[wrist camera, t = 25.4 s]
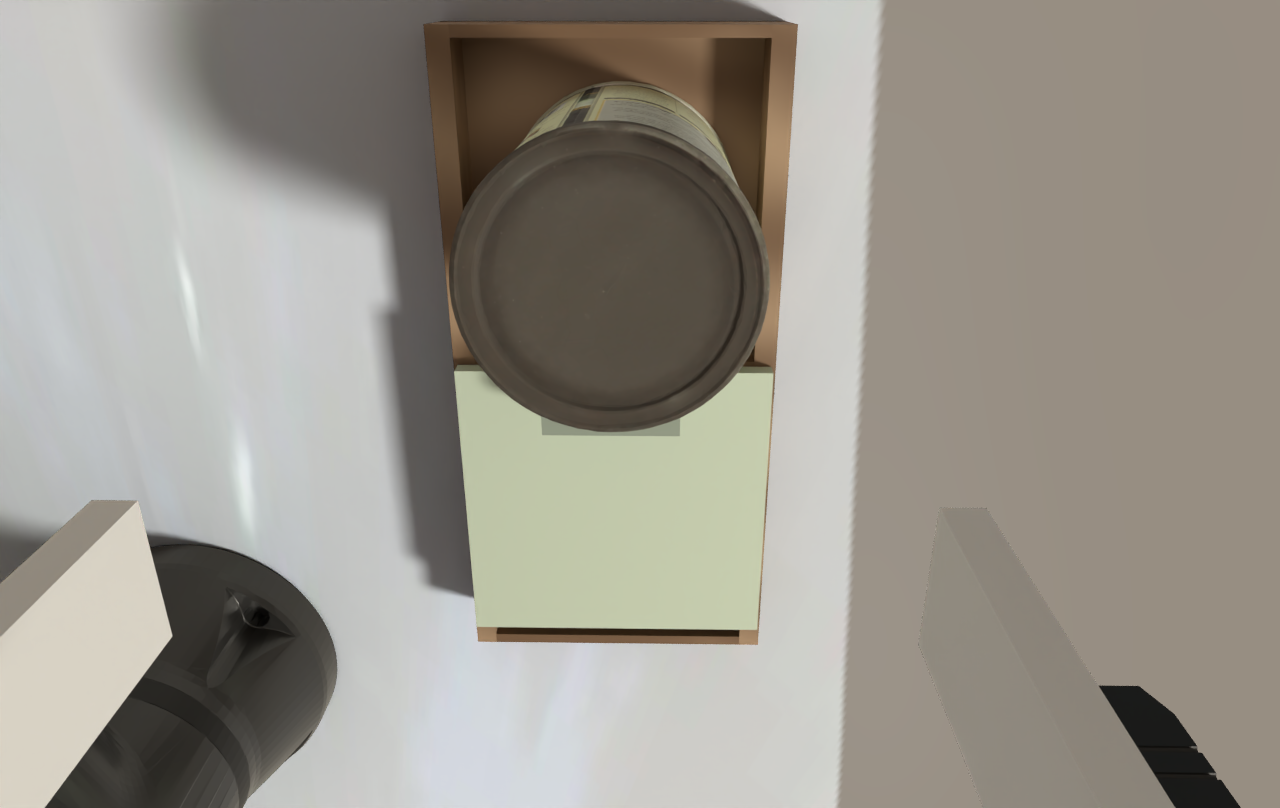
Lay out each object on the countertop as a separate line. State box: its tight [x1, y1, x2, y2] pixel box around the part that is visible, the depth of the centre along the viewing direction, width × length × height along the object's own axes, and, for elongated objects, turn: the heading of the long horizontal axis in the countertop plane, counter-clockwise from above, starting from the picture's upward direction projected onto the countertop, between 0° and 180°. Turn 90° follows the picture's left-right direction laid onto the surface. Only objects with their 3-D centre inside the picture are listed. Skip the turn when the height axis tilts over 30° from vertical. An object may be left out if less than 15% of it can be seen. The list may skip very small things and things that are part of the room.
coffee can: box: [449, 81, 770, 432], centre depth 36 cm, size 10×10×14 cm
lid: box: [454, 365, 774, 630], centre depth 44 cm, size 14×15×4 cm
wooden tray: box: [424, 21, 798, 645], centre depth 45 cm, size 31×15×4 cm, turn 0°
